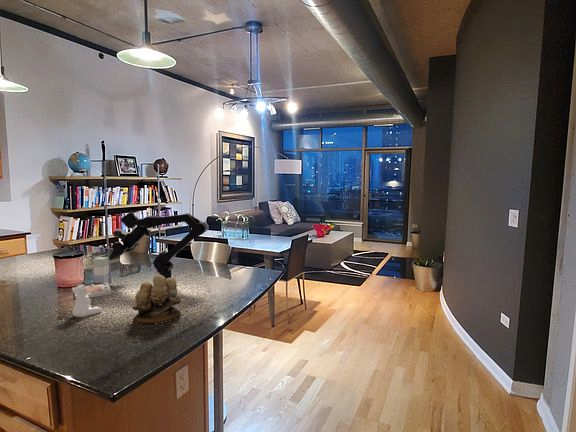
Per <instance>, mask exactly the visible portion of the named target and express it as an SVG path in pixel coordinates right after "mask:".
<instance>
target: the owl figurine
mask: <svg viewBox="0 0 576 432" xmlns="http://www.w3.org/2000/svg"><path fill="white" fill-rule="evenodd" d="M152 283H153V284H152ZM152 283H151V282H148V281H147V282H142V283H141V284H140V286H139V290H137V291H136V294H135V300H134V302H135V304H134V305H133V306H132V307H131V309H132V310H134V311H137V314H135V315H134V316H133V319H132V322H133V323H134V324H136V323H137V324H136V325H138V324H153V325H156V324H155V323H161V322H165V321H169V320H172V319H175V318H177V317H179V318H180V317H181V316H180V315H181V314H182V313H181V311H180V310H179V309H178V308H176V307H175V306H176V305H178V304H180V303H181V301H182V299H183V295H181V294H180V295H178V292H179V289H177V287H178V285H177V280H176V279H175V278H174V277H171V278H167V279H166V278H165V277H164V276H163V275H159V273H158V274H156V275H155V276H154V277H153V278H152ZM177 319H178V318H177ZM175 320H176V319H175ZM161 324H162V323H161Z"/></svg>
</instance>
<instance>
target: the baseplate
mask: <svg viewBox="0 0 576 432" xmlns="http://www.w3.org/2000/svg"><path fill="white" fill-rule="evenodd" d="M84 286H85V287H86V289H87V290H88V294H87V295H88V296H89V298H94V297H101V296H108V295H112V288H111V286H110V283H108V282H105V283H99V284H95V283H92V284H90V285H84ZM77 297H78V296H77V295H76V294H75V293H74V299H75V300H76V299H77Z"/></svg>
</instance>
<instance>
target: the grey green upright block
mask: <svg viewBox="0 0 576 432" xmlns="http://www.w3.org/2000/svg"><path fill="white" fill-rule="evenodd" d="M109 260H110V259H109V256H97V257H94V258H93V260H92V261H93V263H92V264H93V265H92V266H93V282H94V283H93V284H104V283H108V282H109V281H110V266H109V265H110V263H109V262H110V261H109Z"/></svg>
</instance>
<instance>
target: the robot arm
mask: <svg viewBox="0 0 576 432" xmlns="http://www.w3.org/2000/svg"><path fill="white" fill-rule="evenodd" d="M120 222H121V223H122V224H123V225H124V226H125V227H126V228H127V229H131V232H127V231H125V230H123V229H122V228H117V229H115V230H114V231H113V232H112V234H113V235H112V236H113V237H115V238H118V239H120V240H119V241H116V242H113V244H112V245H111V248H112V252H111V253H110V255H109V256H108V258H109V260H113V259H115V258H118V257H120V256H122V255H124V254H126V253H128V252H131V251H133V250H135V249H137V248H138V247H139V243H140V242H141V240H142V239H143V237H144V236H147V237H149V236H151V235H152V230H151V229H152V228H155V227H159V226H162V225H169V224H170V225H171V224H177V223H185V224H187V226H188V227H189V228H191V229H190V230H189V232H188V233H187V234H186V235H185V236H184V237H183V238H182V239H181V240H179V241H178V242H177V243H176V244H174V245H173V246H172V248H170V249H169V250H168V251H166V250H163V251H161V252H160V253H158V255H157V256H155V257H154V260H153V264H152V265H153V267H154V268H155V269H156V272H157V273H158V274H159V275H163V276H164V277H165V278H166V279H167V278H172V269H173V268H174V266H175V265H174V264H173V263H172V262H171V261H172V260H173V258H174V257H175V256H176V255H177V254H178V253H179V252H180V251H181V250H182V249H184V248H186V247H187V245H189V243H191V242H193V241H194V239H196V238H198V237H200V236H201V235H203V234H204V233H206V232H207V231H208V224H207V223H206V222H205V221H201V220H200V219H198V218H196V217H194V216H193V215H192V214H191V213H184V214H183V213H182V214H175V215H165V216H159V215H149V216H146V217H143V218H138V216H136V215H135V213H134V212H133V211H130V212H128V213H127V214H125V215H123V216H122V217H121V218H120Z"/></svg>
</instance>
